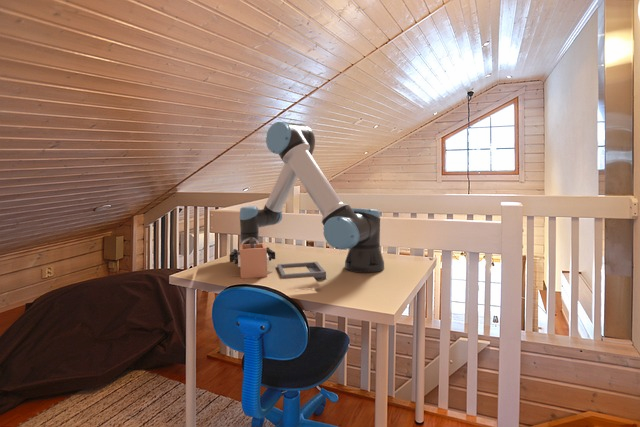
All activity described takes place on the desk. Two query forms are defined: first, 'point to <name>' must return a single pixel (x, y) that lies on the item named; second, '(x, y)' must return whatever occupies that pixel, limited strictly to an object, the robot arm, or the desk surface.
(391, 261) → the desk surface
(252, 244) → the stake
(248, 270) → the orange block
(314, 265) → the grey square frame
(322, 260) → the desk surface
